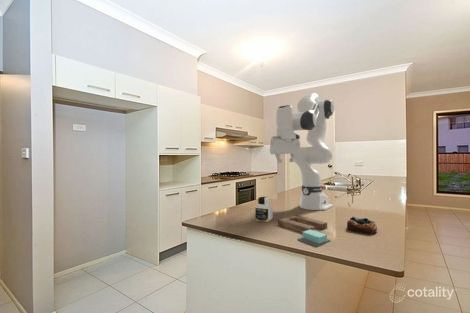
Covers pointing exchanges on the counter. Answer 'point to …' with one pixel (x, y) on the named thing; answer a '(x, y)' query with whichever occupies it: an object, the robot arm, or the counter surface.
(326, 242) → the slate mat
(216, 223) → the counter surface
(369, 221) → the pastry
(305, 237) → the block
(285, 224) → the channel board
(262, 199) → the white black angular body
